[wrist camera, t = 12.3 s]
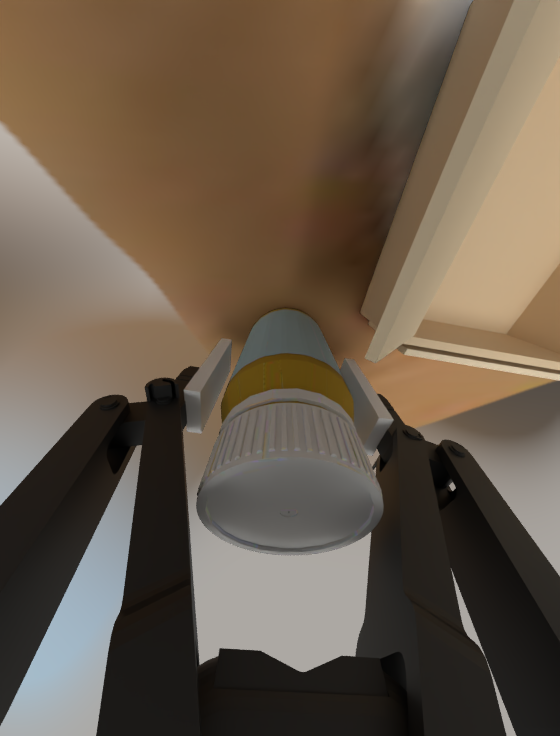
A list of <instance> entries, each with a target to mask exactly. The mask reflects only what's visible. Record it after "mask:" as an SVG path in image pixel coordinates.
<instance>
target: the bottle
mask: <svg viewBox="0 0 560 736" xmlns="http://www.w3.org/2000/svg"><path fill="white" fill-rule="evenodd" d="M221 418H222V426H221V429H220V432H219V436H218V437H217V440H216V442H215V445H214V447H213V450H212V453H211V456H210V458H209V461H208V464H207V466H206V469H205V472H204V475H203V478H202V480H201V483H200V486H199V488H198V489H199V490H198V493H197V496H198V497H197V505H196V506H197V513H198V516H199V518H200V520H201V521H202V523H203V524H204V526H205V527H206V528H207V529H208V530H209V531H210V532H212V533H213V534H214V535H216V536H217V537H219V538H220V539H222V540H224V541H226V542H228V543H230V544H233V545H235V546H237V547H240V548H244V549H247V550H251V551H255V552H260V553H266V554H274V555H309V554H317V553H322V552H327V551H332V550H335V549H339V548H342V547H344V546H347V545H350V544H352V543H354V542H356V541H358V540H360V539H361V538H363V537H364V536H366V535H367V534H368V533H370V532H371V531H372V530H373V529H374V528H375V527H376V526H377V524H378V523H379V521H380V519H381V517H382V514H383V509H384V505H383V499H382V493H381V492H382V491H381V488H380V485H379V483H378V481H377V478H376V476H375V473H374V471H373V468H372V466H371V464H370V461H369V459H368V456H367V454H366V451H365V449H364V447H363V444H362V442H361V439H360V438H359V437H358V435H357V432H356V429H355V426H354V402H353V398H352V396H351V394H350V390H349V388H348V386H347V384H346V382H345V380H344V378H343V376H342V374H341V371H340V369H339V367H338V365H337V363H336V361H335V359H334V357H333V355H332V353H331V351H330V348H329V346H328V344H327V342H326V340H325V338H324V336H323V334H322V332H321V330H320V328H319V326H318V325H317V323H316V322H315V321H314V320H313V319H312V318H311V317H310V316H309V315H307V314H306V313H304V312H301V311H299V310H296V309H289V308H282V309H277V310H273V311H270V312H268V313H267V314H265V315H263V316H262V317H261V318H260V319H259V320H258V321H257V322H256V323H255V325H254V326H253V328H252V330H251V332H250V334H249V337H248V339H247V341H246V344H245V346H244V348H243V351H242V353H241V355H240V358H239V360H238V362H237V365H236V367H235V369H234V372H233V374H232V376H231V379H230V381H229V384H228V386H227V389H226V392H225V394H224V397H223V400H222V403H221Z"/></svg>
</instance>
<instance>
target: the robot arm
mask: <svg viewBox="0 0 560 736" xmlns="http://www.w3.org/2000/svg"><path fill="white" fill-rule="evenodd" d="M231 347H232V340H230V339H224V338H221V340H220V341H219V342H218V344H217V345H216V346H215V348H214V349H213V351H212V352H211V353H210V355H209V356H208V357H207V359H206V360H205V362H204V363H203V364H202V366H201V367H200V368H199V367H193V366H190V367H188V368H186V369H184V370H183V371H182V372H181V373H180V375H179V376H178V377H177V378H176V379H175V380H174V379H171V378H159V379H154V380H152V381H150V382H148V383H147V384H146V386H145V392H146V397H147V402H136V403H129V402H128V399H127V398H126V397H125V396H123V395H109V396H105V397H102V398H100V399H97V400H96V401H95V402H93V403H92V404H91V405H90V406H89V407H88V408H87V409H86V410H85V412H84V413H83V414H82V415H81V416H80V417H79V418H78V419H77V420H76V422H75V423H74V424H73V425H72V426H71V427H70V428H69V430H68V431H67V432H66V433H65V434H64V435H63V436H62V437H61V438H60V440H59V441H58V442H57V443H56V444H55V445H54V446H53V447H52V449H51V450H50V451H49V452H48V453H47V454H46V455H45V456H44V457H43V459H42V460H41V461H40V462H39V463H38V464H37V465H36V466H35V467H34V469H33V470H32V471H31V472H30V473H29V475H27V476H26V478H25V479H24V480H23V481H22V482H21V483H20V484H19V485H18V486H17V488H16V489H15V490H14V491H13V492H12V493H11V494H10V496H9V497H8V498H7V499H6V500H5V501H4V502H3V503H2V505H1V506H0V725H1V723H2V721H3V719H4V718H5V716H6V714H7V712H8V710H9V708H10V706H11V704H12V702H13V699H14V697H15V695H16V693H17V691H18V689H19V687H20V685H21V683H22V681H23V679H24V677H25V675H26V673H27V671H28V668H29V667H30V665H31V662H32V660H33V658H34V656H35V654H36V652H37V650H38V648H39V646H40V644H41V642H42V640H43V638H44V636H45V634H46V632H47V629H48V627H49V625H50V623H51V621H52V619H53V617H54V615H55V613H56V611H57V609H58V607H59V605H60V603H61V601H62V598H63V596H64V594H65V592H66V590H67V588H68V586H69V584H70V582H71V580H72V578H73V576H74V574H75V572H76V570H77V567H78V565H79V563H80V561H81V559H82V557H83V555H84V553H85V551H86V549H87V547H88V545H89V543H90V541H91V539H92V536H93V534H94V532H95V530H96V528H97V526H98V524H99V522H100V520H101V518H102V516H103V514H104V512H105V510H106V508H107V505H108V503H109V501H110V499H111V497H112V495H113V493H114V491H115V489H116V487H117V485H118V483H119V481H120V479H121V477H122V475H123V473H124V470H125V468H126V466H127V464H128V462H129V460H130V458H131V456H132V454H133V452H134V450H135V447H136V446H137V445H142V450H141V458H140V466H139V475H138V482H137V491H136V499H135V506H134V514H133V523H132V530H131V539H130V546H129V554H128V562H127V570H126V578H125V586H124V595H123V601H122V606H121V610H120V613H119V615H118V617H117V619H116V621H115V624H114V627H113V631H112V634H111V640H110V646H109V651H108V658H107V665H106V672H105V679H104V686H103V692H102V699H101V708H100V714H99V721H98V727H97V734H96V736H506V732H505V728H504V724H503V721H502V716H501V712H500V709H499V704H498V700H497V696H496V692H495V688H494V684H493V680H492V677H491V673H490V670H489V667H490V669H491V671H492V674H493V677H494V679H495V682H496V685H497V687H498V690H499V692H500V695H501V697H502V700H503V703H504V705H505V708H506V710H507V712H508V715H509V718H510V720H511V723H512V726H513V728H514V731H515V733H516V735H517V736H560V576H559V575H558V573H557V572H556V571H555V569H554V568H553V567H552V565H551V564H550V562H549V561H548V560H547V558H546V557H545V556H544V554H543V553H542V552H541V550H540V549H539V547H538V546H537V545H536V543H535V542H534V540H533V539H532V538H531V536H530V535H529V534H528V532H527V531H526V529H525V528H524V527H523V525H522V524H521V523H520V521H519V520H518V518H517V517H516V516H515V514H514V513H513V512H512V510H511V509H510V507H509V506H508V505H507V503H506V502H505V500H503V498H502V496H501V495H500V494H499V492H498V491H497V489H496V488H495V487H494V485H493V484H492V482H491V481H490V480H489V478H488V477H487V476H486V474H485V473H484V471H483V470H482V469H481V468H480V466H479V465H478V463H477V462H476V461H475V459H474V458H473V456H472V455H471V454H470V453H469V452H468V450H466V449H465V448H464V447H463V446H461V445H459V444H458V443H456V442H453V441H451V440H442V441H441V443H440V444H439V445H436V444H433V443H431V442H428V441H425V439H424V437H423V436H422V435H421V433H420V432H418V431H417V430H416V429H414V428H412V427H410V426H407V425H405V424H404V423H403V421H402V420H401V419H400V417H399V416H398V414H397V413H396V411H394V409H393V407H392V406H391V404H390V403H389V402H388V400H387V399H386V398H385V397H383V396H382V395H381V394H376V392H375V391H374V389H373V388H372V386H371V385H370V383H369V381H368V380H367V378H366V377H365V375H364V374H363V372H362V371H361V369H360V368H359V366H358V365H357V363H356V362H355V360H354V359H347V358H344V361H343V364H342V367H341V369H340V371H341V374H342V376H343V378H344V380H345V382H346V384H347V386H348V388H349V390H350V394H351V396H352V398H353V402H354V426H355V429H356V432H357V435H358V437H359V438H360V439H361V442H362V444H363V447H364V449H365V451H366V454H367V455H372V456H373V454H374V452H375V451H376V449H378V452H379V454H380V455H379V457H378V458H377V460H376V462H375V464H374V465H373V467H372V468H373V470H374V468H375V467H376V478H377V481H378V483H379V485H380V488H381V491H382V492H381V493H382V499H383V505H384V509H383V514H382V517H381V519H380V521H379V523H378V524H377V526H376V527H375V528H374V529H373V530H372V531H371V545H370V557H369V571H368V583H367V584H368V585H367V596H366V597H367V598H366V609H365V618H364V623H363V626H362V628H361V631H360V634H359V638H358V643H357V649H356V657H353V656H352V657H351V656H340V657H338V658H336V659H334V660H332V661H329V662H327V663H325V664H322V665H320V666H318V667H316V668H314V669H311V670H309V671H307V672H299V671H297V670H295V669H293V668H292V667H290V666H288V665H286V664H284V663H282V662H280V661H278V660H277V659H275V658H273V657H271V656H269V655H267V654H265V653H264V652H262V651H254V650H239V649H222V648H220V650H219V656H218V657H216V658H212V659H210V660H208V661H206V662H204V663H203V664H201V665H199V653H198V639H197V627H196V614H195V601H194V586H193V572H192V557H191V544H190V528H189V514H188V499H187V485H186V472H185V456H184V443H183V432H182V431H183V429H184V427H185V426H186V425H187V431H188V432H195V433H202V431H203V429H204V427H205V424H206V423H207V420H208V418H209V416H210V414H211V411H212V409H213V407H214V405H215V403H216V401H217V399H218V396H219V394H220V392H221V390H222V388H223V385H224V383H225V381H226V379H227V377H228V375H229V372H230V365H231ZM452 482H453V483H454V484H455V487H456V489H455V490H454V491H452V490H451V489H450V487H449V485H450V484H451V483H452ZM451 569H452V571H453V574H454V577H455V579H456V582H457V584H458V587H459V590H460V592H461V595H462V597H463V600H464V602H465V605H466V608H467V610H468V613H469V615H470V618H471V620H472V623H473V626H474V628H475V631H476V633H477V636H478V638H479V641H480V643H481V646H482V649H483V651H484V654H485V656H486V658H485V656H484V655H483V653H482V651H481V649H480V648H479V646H478V645H477V644H476V643H475V642H474V641H473V640H471V639H470V638H469V637H468V636H467V634H466V632H465V630H464V627H463V624H462V620H461V616H460V610H459V605H458V600H457V596H456V591H455V586H454V581H453V576H452V571H451ZM486 659H487V661H488V664H489V667H488V664H487V661H486Z"/></svg>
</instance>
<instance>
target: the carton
mask: <svg viewBox="0 0 560 736" xmlns="http://www.w3.org/2000/svg"><path fill="white" fill-rule="evenodd" d="M513 2H514V0H474V1H473V2H472V3H471V5H470V7H469V10H468V13H467V16H466V19H465V21H464V24H463V27H462V30H461V32H460V35H459V38H458V41H457V44H456V46H455V49H454V52H453V55H452V58H451V60H450V63H449V66H448V69H447V71H446V74H445V77H444V80H443V83H442V85H441V88H440V91H439V94H438V96H437V99H436V102H435V105H434V108H433V110H432V113H431V116H430V119H429V121H428V124H427V127H426V130H425V133H424V135H423V138H422V141H421V144H420V146H419V149H418V152H417V155H416V158H415V160H414V163H413V166H412V169H411V171H410V174H409V177H408V180H407V183H406V185H405V188H404V191H403V194H402V197H401V199H400V202H399V205H398V208H397V210H396V213H395V216H394V219H393V222H392V224H391V227H390V230H389V233H388V235H387V238H386V241H385V244H384V247H383V249H382V252H381V255H380V258H379V260H378V263H377V266H376V269H375V272H374V274H373V277H372V280H371V283H370V285H369V288H368V291H367V294H366V297H365V299H364V302H363V305H362V308H361V310H360V314H362V315H363V316H364V317H365V318H367V319H368V320H369V323H368V325H369V326H371V327H372V328H373V329H374V330H375V331H376V330H377V327H378V325H379V323H380V320H381V318H382V315H383V313H384V311H385V308H386V306H387V303H388V301H389V299H390V296H391V294H392V291H393V289H394V287H395V284H396V282H397V279H398V277H399V275H400V272H401V270H402V267H403V265H404V263H405V260H406V258H407V255H408V253H409V251H410V248H411V246H412V243H413V241H414V239H415V236H416V234H417V232H418V229H419V227H420V224H421V222H422V220H423V217H424V215H425V212H426V210H427V208H428V205H429V203H430V200H431V198H432V196H433V193H434V191H435V188H436V186H437V184H438V181H439V179H440V176H441V174H442V172H443V169H444V167H445V164H446V162H447V160H448V157H449V155H450V152H451V150H452V148H453V145H454V143H455V140H456V138H457V136H458V133H459V131H460V128H461V126H462V124H463V121H464V119H465V117H466V114H467V112H468V109H469V107H470V105H471V102H472V100H473V97H474V95H475V93H476V90H477V88H478V85H479V83H480V81H481V78H482V76H483V73H484V71H485V69H486V66H487V64H488V61H489V59H490V57H491V54H492V52H493V49H494V47H495V45H496V42H497V40H498V37H499V35H500V33H501V30H502V28H503V25H504V23H505V21H506V18H507V16H508V13H509V11H510V9H511V6H512V4H513ZM397 349H398V350H399V351H400V352H401V353H403V354H404V355H409V356H415V357H421V358H427V359H433V360H439V361H445V362H451V363H457V364H463V365H469V366H475V367H481V368H487V369H493V370H499V371H505V372H511V373H517V374H523V375H529V376H535V377H541V378H547V379H553V380H559V381H560V56H559V58H558V60H557V62H556V64H555V66H554V68H553V70H552V72H551V74H550V76H549V78H548V80H547V81H546V83H545V85H544V87H543V89H542V91H541V93H540V95H539V97H538V99H537V101H536V103H535V105H534V106H533V108H532V110H531V112H530V114H529V116H528V118H527V120H526V122H525V124H524V126H523V128H522V130H521V131H520V133H519V135H518V137H517V139H516V141H515V143H514V145H513V147H512V149H511V151H510V153H509V155H508V156H507V158H506V160H505V162H504V164H503V166H502V168H501V170H500V172H499V174H498V176H497V178H496V180H495V181H494V183H493V185H492V187H491V189H490V191H489V193H488V195H487V197H486V199H485V201H484V203H483V205H482V206H481V208H480V210H479V212H478V214H477V216H476V218H475V220H474V222H473V224H472V226H471V228H470V230H469V231H468V233H467V235H466V237H465V239H464V241H463V243H462V245H461V247H460V249H459V251H458V253H457V255H456V256H455V258H454V260H453V262H452V264H451V266H450V268H449V270H448V272H447V274H446V276H445V278H444V279H443V281H442V283H441V285H440V287H439V289H438V291H437V293H436V295H435V297H434V299H433V301H432V303H431V304H430V306H429V308H428V310H427V312H426V314H425V316H424V318H423V320H422V322H421V324H420V326H419V328H418V329H417V331H416V333H415V335H414V336H413V337H411V338H410V339H409V340H407V341H406V342H404V343H403V344H402V345H400V346H399V347H398V348H397Z"/></svg>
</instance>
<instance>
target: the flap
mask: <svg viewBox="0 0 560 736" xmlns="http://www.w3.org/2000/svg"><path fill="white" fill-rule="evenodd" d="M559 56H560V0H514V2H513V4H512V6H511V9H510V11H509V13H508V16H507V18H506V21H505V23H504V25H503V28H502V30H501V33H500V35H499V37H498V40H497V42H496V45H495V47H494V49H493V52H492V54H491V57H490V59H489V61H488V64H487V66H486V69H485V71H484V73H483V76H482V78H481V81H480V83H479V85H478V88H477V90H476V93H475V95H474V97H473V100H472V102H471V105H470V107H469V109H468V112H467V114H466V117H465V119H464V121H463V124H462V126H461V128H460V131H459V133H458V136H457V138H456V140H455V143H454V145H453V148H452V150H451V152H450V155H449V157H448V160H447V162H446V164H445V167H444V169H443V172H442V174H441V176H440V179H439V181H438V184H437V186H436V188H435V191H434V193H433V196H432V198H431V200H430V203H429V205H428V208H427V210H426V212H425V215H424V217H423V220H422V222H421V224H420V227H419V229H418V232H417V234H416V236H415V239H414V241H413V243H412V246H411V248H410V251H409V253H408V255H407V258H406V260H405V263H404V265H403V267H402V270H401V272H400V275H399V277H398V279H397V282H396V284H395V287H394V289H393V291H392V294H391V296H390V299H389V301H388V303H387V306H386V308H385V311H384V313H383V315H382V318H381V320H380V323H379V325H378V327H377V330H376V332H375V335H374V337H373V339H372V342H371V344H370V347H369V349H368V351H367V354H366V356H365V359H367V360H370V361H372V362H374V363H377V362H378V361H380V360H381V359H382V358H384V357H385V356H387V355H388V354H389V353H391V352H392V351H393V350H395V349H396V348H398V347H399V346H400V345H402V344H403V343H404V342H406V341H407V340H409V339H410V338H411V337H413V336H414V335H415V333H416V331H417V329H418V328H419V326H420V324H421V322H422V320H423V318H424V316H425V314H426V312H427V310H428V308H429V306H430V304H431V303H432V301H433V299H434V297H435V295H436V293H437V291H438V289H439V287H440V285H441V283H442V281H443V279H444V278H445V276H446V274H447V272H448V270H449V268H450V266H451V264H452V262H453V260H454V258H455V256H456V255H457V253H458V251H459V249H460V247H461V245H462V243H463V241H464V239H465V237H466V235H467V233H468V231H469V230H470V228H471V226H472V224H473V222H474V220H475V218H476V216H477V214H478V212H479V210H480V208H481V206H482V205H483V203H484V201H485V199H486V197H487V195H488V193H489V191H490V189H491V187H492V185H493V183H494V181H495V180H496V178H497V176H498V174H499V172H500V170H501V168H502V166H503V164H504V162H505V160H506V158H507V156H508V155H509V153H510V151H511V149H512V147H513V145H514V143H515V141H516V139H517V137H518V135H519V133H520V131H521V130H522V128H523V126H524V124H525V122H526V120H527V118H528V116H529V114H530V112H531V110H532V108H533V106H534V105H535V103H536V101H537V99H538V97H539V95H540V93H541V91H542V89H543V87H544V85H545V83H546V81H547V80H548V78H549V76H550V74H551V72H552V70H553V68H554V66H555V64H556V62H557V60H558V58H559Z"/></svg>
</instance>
